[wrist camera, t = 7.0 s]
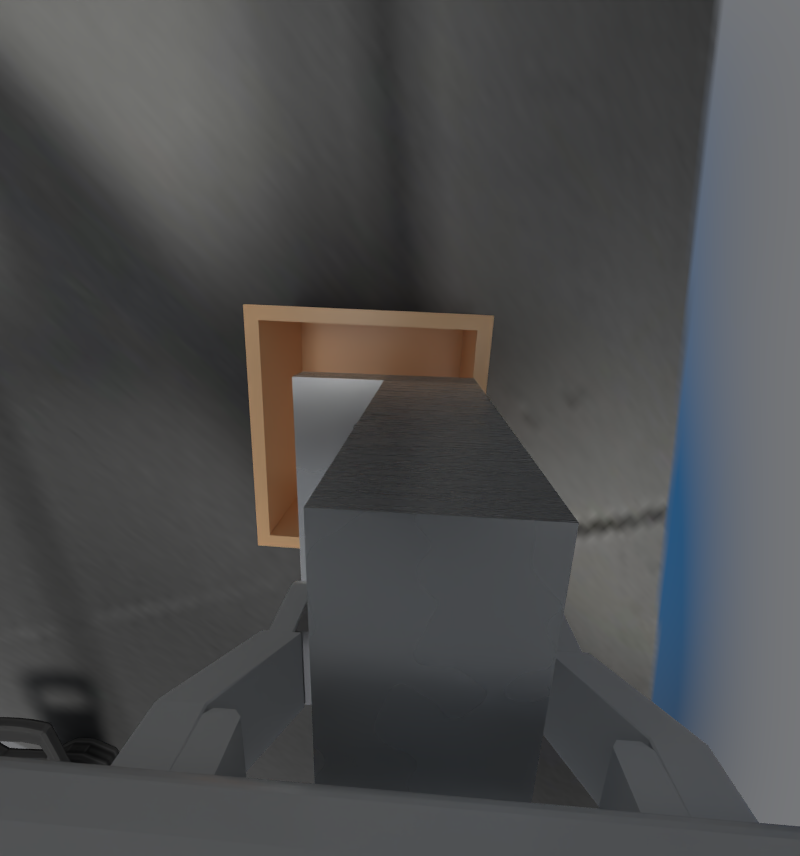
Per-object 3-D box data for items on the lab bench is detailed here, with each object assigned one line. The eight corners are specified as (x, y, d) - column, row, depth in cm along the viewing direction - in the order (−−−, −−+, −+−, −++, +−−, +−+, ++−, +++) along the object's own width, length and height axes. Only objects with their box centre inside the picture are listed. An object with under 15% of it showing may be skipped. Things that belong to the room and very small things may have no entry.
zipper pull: (45, 728, 36) (111, 906, 43) (102, 665, 42) (152, 829, 49) (-48, 725, 36) (32, 901, 43) (22, 663, 43) (82, 825, 50)
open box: (294, 306, 31) (242, 304, 22) (474, 314, 30) (494, 315, 21) (299, 487, 35) (258, 545, 26) (457, 497, 34) (468, 560, 26)
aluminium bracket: (457, 576, 16) (504, 964, 7) (310, 567, 16) (148, 923, 7) (474, 377, 14) (578, 522, 4) (302, 371, 14) (46, 493, 5)
